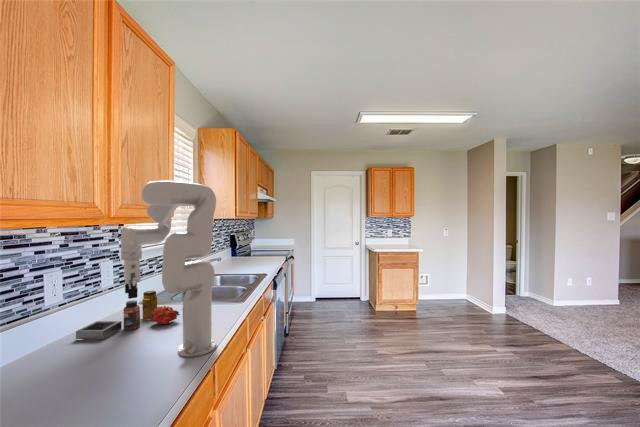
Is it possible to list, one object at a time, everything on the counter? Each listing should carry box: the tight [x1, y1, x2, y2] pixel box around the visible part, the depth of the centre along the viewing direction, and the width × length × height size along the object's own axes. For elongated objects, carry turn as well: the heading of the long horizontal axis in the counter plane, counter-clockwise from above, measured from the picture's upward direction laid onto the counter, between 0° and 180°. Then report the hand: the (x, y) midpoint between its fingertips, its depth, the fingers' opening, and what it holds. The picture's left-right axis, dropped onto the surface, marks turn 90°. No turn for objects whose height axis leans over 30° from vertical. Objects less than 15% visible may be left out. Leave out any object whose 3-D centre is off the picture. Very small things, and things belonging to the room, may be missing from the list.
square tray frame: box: [75, 320, 123, 341], centre depth 118 cm, size 10×10×4 cm
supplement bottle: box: [123, 299, 141, 331], centre depth 125 cm, size 6×6×11 cm
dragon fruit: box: [150, 305, 181, 326], centre depth 129 cm, size 8×8×12 cm
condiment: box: [140, 290, 158, 321], centre depth 139 cm, size 7×8×12 cm
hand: (131, 295), depth 125 cm, fingers open, 9 cm apart
